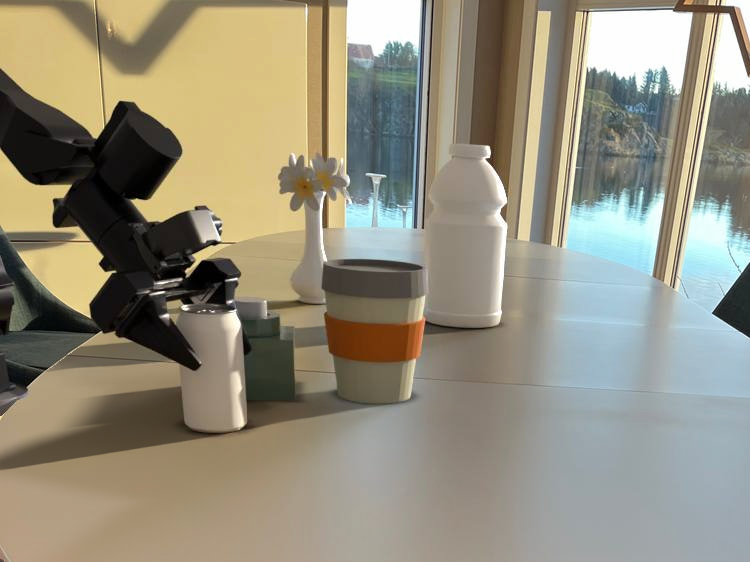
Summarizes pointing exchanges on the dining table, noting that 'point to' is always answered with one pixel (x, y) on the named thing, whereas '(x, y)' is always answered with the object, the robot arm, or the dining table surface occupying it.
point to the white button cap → (251, 306)
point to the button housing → (270, 359)
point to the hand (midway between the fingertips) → (224, 360)
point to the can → (213, 369)
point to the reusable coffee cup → (374, 326)
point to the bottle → (465, 242)
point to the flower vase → (312, 217)
